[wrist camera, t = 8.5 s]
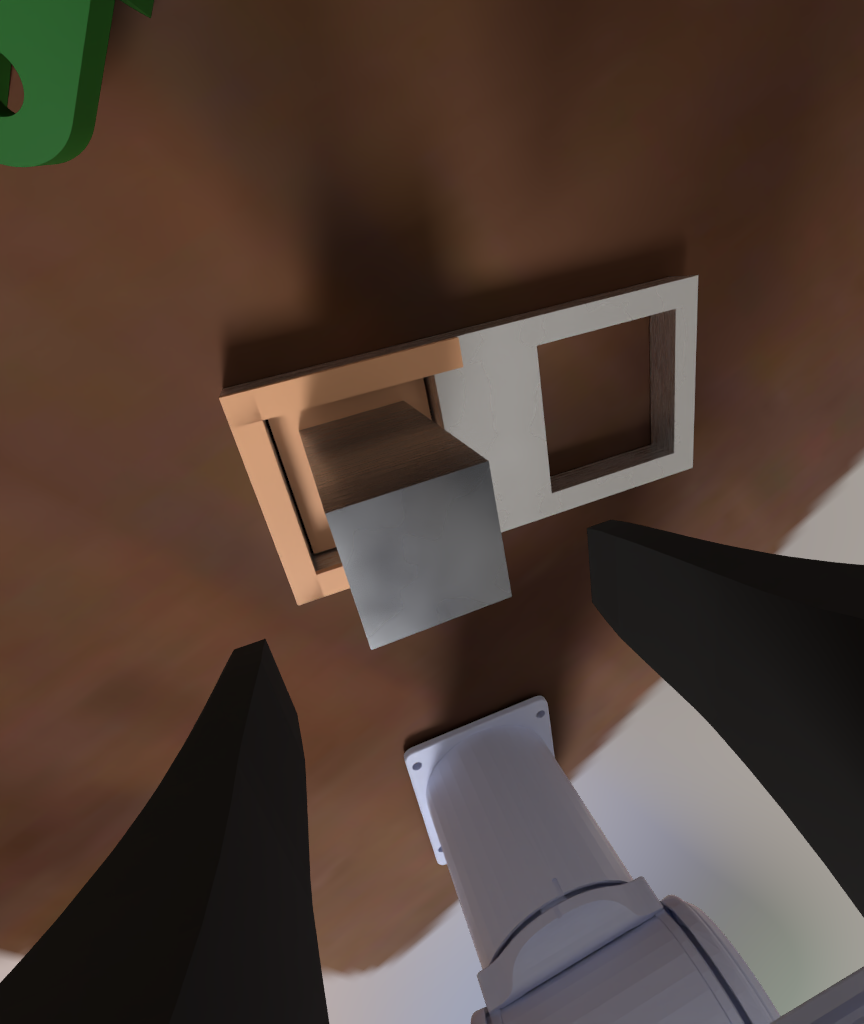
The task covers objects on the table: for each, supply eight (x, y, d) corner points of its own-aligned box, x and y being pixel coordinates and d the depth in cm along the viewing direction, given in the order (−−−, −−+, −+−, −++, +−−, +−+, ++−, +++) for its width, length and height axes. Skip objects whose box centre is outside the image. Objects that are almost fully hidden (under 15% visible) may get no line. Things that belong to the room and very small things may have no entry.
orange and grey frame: (669, 458, 25) (692, 467, 23) (295, 582, 21) (297, 601, 20) (670, 276, 21) (698, 275, 20) (222, 388, 18) (219, 396, 16)
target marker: (475, 522, 23) (492, 539, 21) (295, 582, 21) (297, 605, 19) (441, 333, 19) (458, 337, 18) (222, 388, 18) (219, 398, 16)
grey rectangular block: (426, 495, 21) (512, 596, 14) (331, 527, 20) (371, 649, 13) (403, 400, 19) (488, 461, 12) (298, 430, 19) (325, 513, 12)
